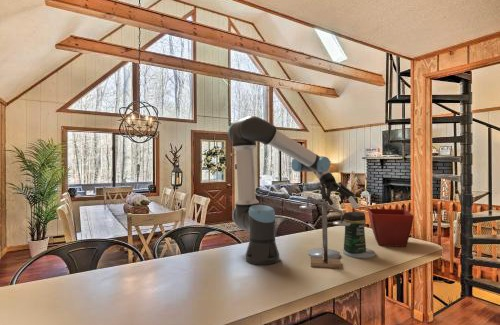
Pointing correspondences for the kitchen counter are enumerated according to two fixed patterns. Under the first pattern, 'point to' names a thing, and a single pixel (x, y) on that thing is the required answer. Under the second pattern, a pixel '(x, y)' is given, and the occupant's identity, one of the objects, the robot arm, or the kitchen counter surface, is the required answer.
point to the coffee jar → (355, 232)
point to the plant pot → (391, 226)
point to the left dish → (319, 253)
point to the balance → (325, 235)
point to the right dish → (361, 254)
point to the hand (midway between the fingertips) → (347, 208)
